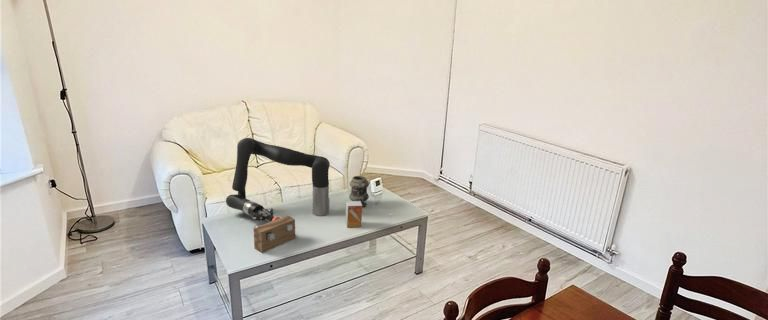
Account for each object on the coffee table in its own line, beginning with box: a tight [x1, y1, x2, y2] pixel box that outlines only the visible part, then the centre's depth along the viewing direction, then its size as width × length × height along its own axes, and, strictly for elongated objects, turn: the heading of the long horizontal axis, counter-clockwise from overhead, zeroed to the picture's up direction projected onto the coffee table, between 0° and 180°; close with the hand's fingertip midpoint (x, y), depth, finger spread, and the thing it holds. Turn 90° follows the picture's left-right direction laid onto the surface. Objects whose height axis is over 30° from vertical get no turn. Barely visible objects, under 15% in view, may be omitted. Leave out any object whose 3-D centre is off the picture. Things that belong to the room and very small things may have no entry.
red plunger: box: [272, 215, 292, 231], centre depth 211 cm, size 12×4×4 cm, turn 51°
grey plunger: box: [253, 224, 275, 241], centre depth 201 cm, size 12×4×4 cm, turn 51°
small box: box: [345, 200, 363, 228], centre depth 230 cm, size 8×6×13 cm
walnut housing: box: [253, 215, 296, 254], centre depth 207 cm, size 6×20×11 cm, turn 141°
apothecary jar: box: [348, 175, 370, 209], centre depth 256 cm, size 12×12×18 cm
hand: (273, 219), depth 216 cm, fingers closed
